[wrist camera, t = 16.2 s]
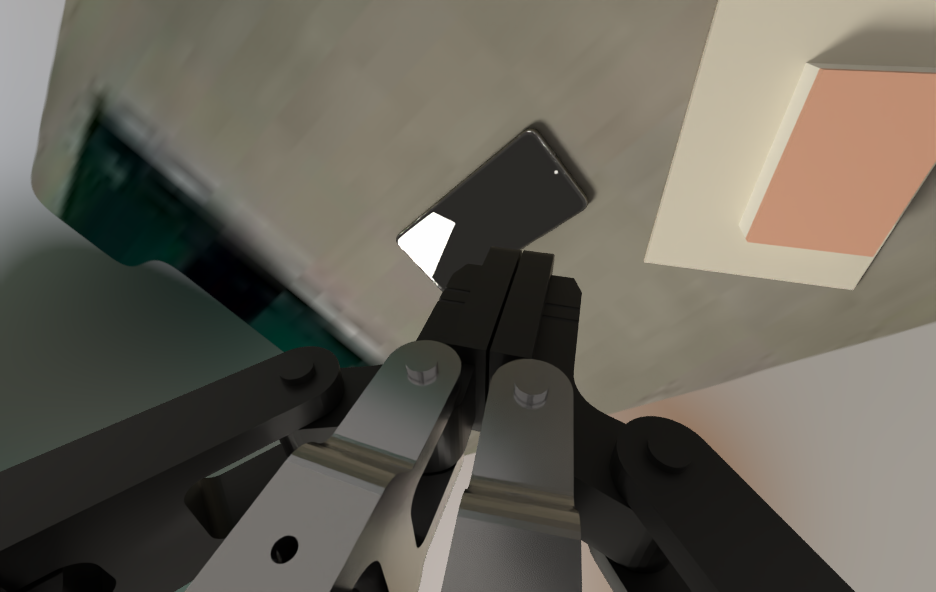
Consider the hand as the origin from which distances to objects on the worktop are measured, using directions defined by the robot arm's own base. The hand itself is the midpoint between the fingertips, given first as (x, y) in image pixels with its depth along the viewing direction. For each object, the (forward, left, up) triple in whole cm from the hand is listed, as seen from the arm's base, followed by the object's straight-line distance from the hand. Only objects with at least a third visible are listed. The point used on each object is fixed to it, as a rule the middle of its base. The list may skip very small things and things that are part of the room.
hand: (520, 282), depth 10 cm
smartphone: (+10, -6, -23) cm, 26 cm away
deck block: (+3, +12, -21) cm, 24 cm away
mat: (+3, +14, -23) cm, 27 cm away
